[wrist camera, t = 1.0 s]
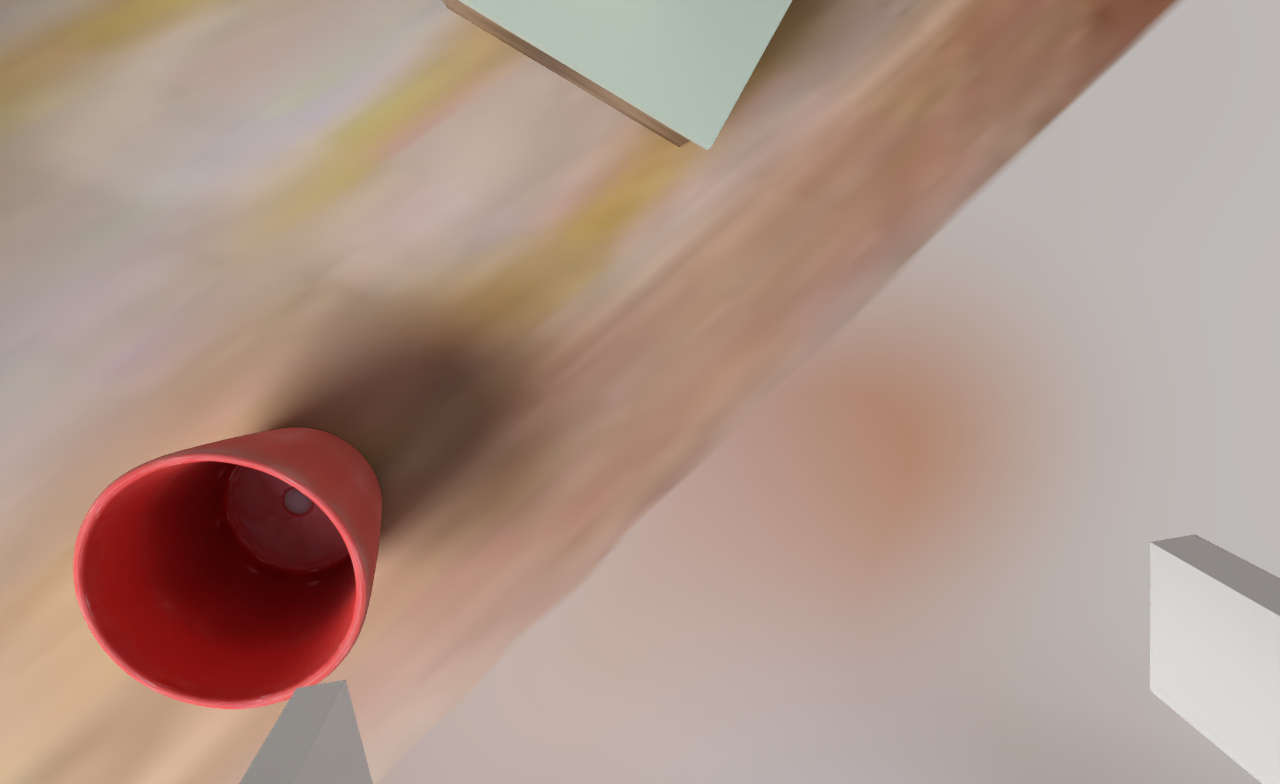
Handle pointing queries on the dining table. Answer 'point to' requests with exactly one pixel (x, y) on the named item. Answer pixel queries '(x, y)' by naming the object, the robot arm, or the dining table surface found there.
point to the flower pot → (233, 566)
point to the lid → (653, 50)
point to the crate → (565, 71)
